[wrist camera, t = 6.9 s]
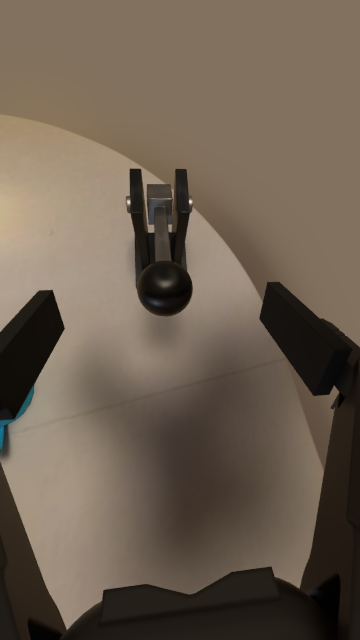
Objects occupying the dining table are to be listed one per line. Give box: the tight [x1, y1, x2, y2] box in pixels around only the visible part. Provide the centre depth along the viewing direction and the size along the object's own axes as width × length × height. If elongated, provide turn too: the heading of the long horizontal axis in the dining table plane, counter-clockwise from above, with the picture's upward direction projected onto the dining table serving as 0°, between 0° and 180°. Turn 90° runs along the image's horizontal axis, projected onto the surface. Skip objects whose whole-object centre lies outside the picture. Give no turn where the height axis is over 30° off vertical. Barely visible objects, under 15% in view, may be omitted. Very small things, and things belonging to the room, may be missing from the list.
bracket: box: [126, 169, 192, 288], centre depth 27 cm, size 8×7×14 cm
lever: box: [137, 184, 193, 316], centre depth 19 cm, size 14×4×4 cm, turn 3°
